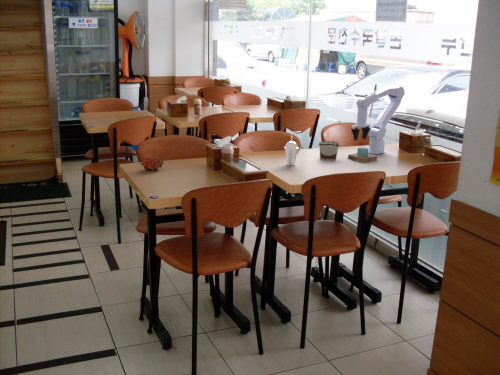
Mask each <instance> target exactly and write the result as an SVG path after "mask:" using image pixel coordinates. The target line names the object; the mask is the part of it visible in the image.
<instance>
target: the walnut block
mask: <svg viewBox="0 0 500 375" xmlns="http://www.w3.org/2000/svg"><path fill="white" fill-rule="evenodd" d="M347 159H348V160H351V161H356V162H359V163H362V164H363V163H369V162H373V161H377V160H378V156H377V155H375V154H371V153H368V156H364V157H363V156H359V155H357V153H349V154H348V155H347Z"/></svg>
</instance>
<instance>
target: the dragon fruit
mask: <svg viewBox="0 0 500 375" xmlns="http://www.w3.org/2000/svg"><path fill="white" fill-rule="evenodd" d="M163 163H164V161H163V159H162V158H161V157H158V156H157V155H153V156H152V155H150V156H148V157H146V158H145V159H144V160H143V161H142V162H141V163H140V166H143V169H144V170H145V171H146V170H147V171H152V172H154V171H158V170H159V168H162V167H163V165H164V164H163Z"/></svg>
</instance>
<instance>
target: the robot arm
mask: <svg viewBox="0 0 500 375" xmlns="http://www.w3.org/2000/svg"><path fill="white" fill-rule="evenodd" d="M405 94H406V93H405V89H404V87H403V86H398V85H390V84H389V85H387V86H386V87H385V88H384V89H382V90H380V91H378V92H377V93H376V92H370V94H368V95H364V97H359V98H358V99H357V100H356V106H357V115H356V123H355V124H352V125H351V129H350V130H351V133H352V136H353V140H354V141H358V138H359V134H360V131H361V132H362V135H361V136H362V139H363V140H366V139H367V136H368V139H369V145H368V148H369V149H368V154H371V155H378V154H379V155H380V154H385V143H386V142H385V140H384V138H385V136H386V133H387V128H386V126H387V125H388V123H389V122H390V120H391V119H392V117H393V116H394V114H395V112H396V111H397V110H398V108H399V107H400V104H401V102H402V99H403V98H404V96H405ZM386 96H388V98H389V100H390V102H389V104H388V105H387V107H386V109H385V110H384V112H383V113H382V115H381V117H380V118H379V119H378V121H377V122H376V123H374V124H373V125H372V126H371V124H370V123H367V118H368V110H369V109H368V108H369V107H370V106H371V105H372V104H375V103H377V102H378V101H379V100H380V99H381V98H383V97H386Z"/></svg>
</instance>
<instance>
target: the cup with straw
mask: <svg viewBox="0 0 500 375" xmlns="http://www.w3.org/2000/svg"><path fill="white" fill-rule="evenodd" d="M298 133H302V130H300V131H299V130H297V131H291V136H290V141H287V142H286V143H285V146H283V149H284V151H285V159H286V160H285V162H286V166H287V165H294V166H295V165H296V159H297V154H298V150H299V149H300V147H299V145H298V143H297V142H295V141H293V134H298Z"/></svg>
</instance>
